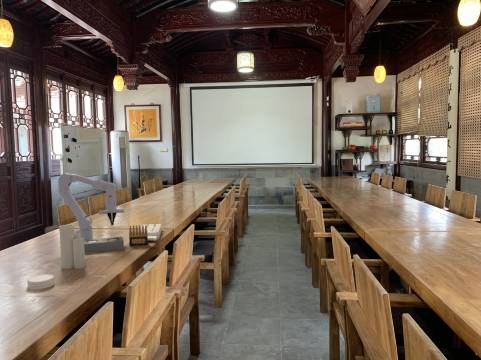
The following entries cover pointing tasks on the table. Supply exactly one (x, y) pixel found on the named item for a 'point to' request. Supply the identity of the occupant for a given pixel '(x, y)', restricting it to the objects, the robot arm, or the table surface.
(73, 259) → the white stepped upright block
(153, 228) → the organizer
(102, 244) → the block
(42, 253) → the table surface
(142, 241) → the ammunition clip
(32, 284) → the coaster
